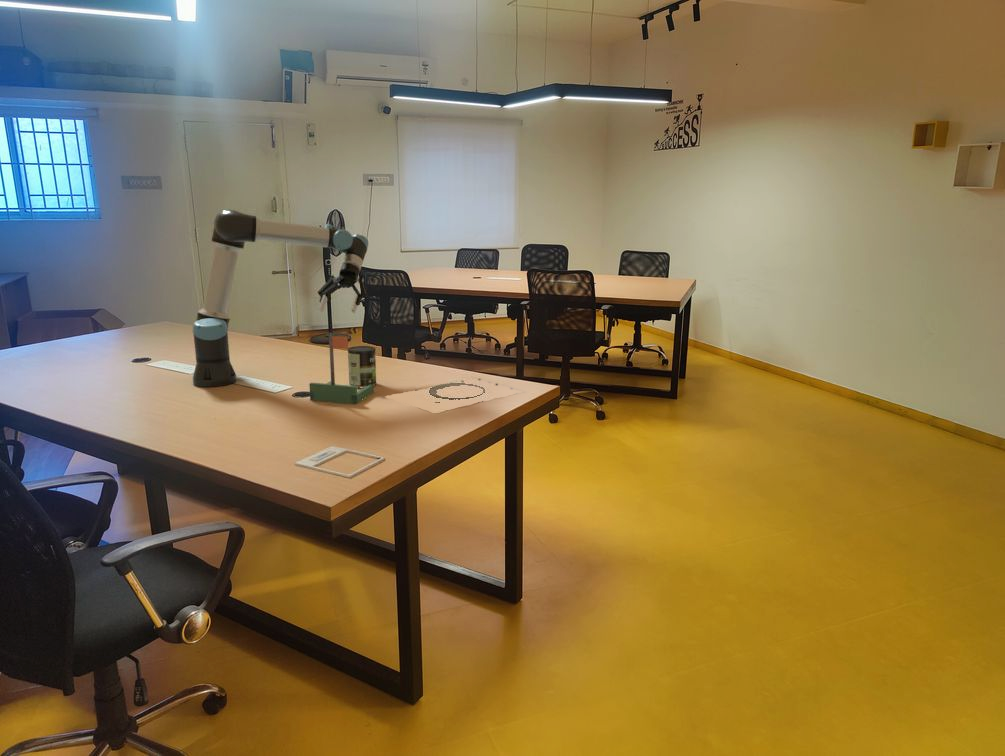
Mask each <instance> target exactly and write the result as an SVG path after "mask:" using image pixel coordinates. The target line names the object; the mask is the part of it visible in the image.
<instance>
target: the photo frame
mask: <svg viewBox="0 0 1005 756" xmlns="http://www.w3.org/2000/svg"><path fill="white" fill-rule="evenodd" d="M345 453H350V454H354V455H360V456H363V457H367V456H368V457H367V458H372V457H374V458H373V459H376V458H379V459H377V460H374V461H373V462H371V463H368V464H367V465H364V466H363V467H361V468H359V469H357V470H355V471H353V472H352V473H349V474H347V473H343V472H338V471H335V470H331V469H328V468H327V469H326V468H322V467H317V466H319V465H322V464H324V463H325V462H327V461H329V460H330V461H331V460H332V459H334V458H336V457H338V456H340V455H343V454H345ZM384 459H385V460H386V457H383V456H378V455H374V454H371V453H366V452H361V451H357V450H353V449H348V448H343V447H338V446H335V445H334V446H333V445H332V446H329V447H327V448H324V449H323V450H320V451H319V452H316V453H314V454H312V455H309V456H307V457H305V458H303V459H300V460H298V461H296V462H294V466H299V467H303V468H308V469H311V470H314V471H315V470H316V471H318V472H319V471H320V472H323V473H327V474H331V475H335V476H338V477H339V476H340V477H344V478H347V479H351V478H352V477H354V476H356V475H358V474H360V473H362V472H363V471H365V470H369V468H371V466H372V467H373V465H374V466H376V465H377V464H379V463H381V462H383V461H385V460H384ZM382 460H383V461H382ZM380 461H381V462H380ZM378 462H379V463H378Z"/></svg>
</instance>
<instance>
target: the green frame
mask: <svg viewBox="0 0 1005 756" xmlns="http://www.w3.org/2000/svg"><path fill="white" fill-rule="evenodd" d="M348 341H349V340H348V336H334V334H333V333H332V332H328V343H329V358H330V359H329V364H330V365H329V366H330V381H329V382H327V383H325V382H324V383H323V382H310V383H309V384H308V385H309V401H313V402H314V401H315V402H323V403H324V402H326V403H338V404H350V405H357V404H358V403H360V402H362V401H363V400H365V399H366V398H368V397H369V396H371V395H372V394H371V393H373V392H374V393H375V386H374V385H373V384H370V385H368V386H366V387H365V388H360V390H358V388H357V386H349V384H347V385H345V384H336V381H335V380H336V379H335V377H336V376H335V359H334V357H335V355H334V349H342V350H347V349H348V348H349V342H348ZM374 393H373V394H374ZM370 394H371V395H370ZM368 395H369V396H368ZM367 396H368V397H367ZM365 397H366V398H365ZM364 398H365V399H364ZM362 399H363V400H362ZM361 400H362V401H361ZM359 401H360V402H359ZM356 403H357V404H356Z"/></svg>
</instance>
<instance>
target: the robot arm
mask: <svg viewBox="0 0 1005 756" xmlns="http://www.w3.org/2000/svg"><path fill="white" fill-rule="evenodd" d="M258 241H265V242H275V243H284V244H292V245H293V244H294V245H301V246H302V245H303V246H310V247H320V248H327V249H335V250H338V251H340V252H342V253H344V255H345V256H344V258H343V261H342V264H341V267H340V270H339V274H338V276H335V275H330V277H329V279H328V280H327V281H326V283H324V284H323V286H321V288H319V290H318V291H317V294H318V296H319V297H320V298H319V306H318V310H320V312H321V313H324V311H325V307H326V305H327V302H328V298H329V296H330V295H332V294H333V293H334V292H336V291H337V290H340V289H342V288H343V289H344V288H345V289H350V288H352V290H353V291H354V292H355V294H356V295H354V298H353V302H352V304H351V307H350V310H351V312H352V313H353V314H356V311H357V308H358V306H359V305H360V304H361V302H362V300H363V299H367V298H368V296H367V291H366V288H365V279H364V278H363V276H362V275H360V272H361V268H362V266H363V263H364V260H365V257H366V254H367V252H368V247H369V240H368V239H367V237H366V236H365V235H360V234H359V233H355V234H353V235H352V233H351V232H349V231H348V230H346V229H343V228H342V229H341V228H338V227H336V226H335V225H332V224H331V223H326V224H325V225H324V226H316V225H309V224H308V225H307V224H301V223H291V222H285V221H277V220H270V219H269V220H268V219H261V218H259V217H258V215H252V214H251V215H250V214H247V213H243V212H240V211H237V210H235V209H224V210H222V211H220V212H219V213H217V214H216V215H215V218H214V221H213V230H212V236H211V244H212V245H213V246H214V247H213V248H214V249H213V254H212V260H211V265H210V269H209V275H208V281H207V285H206V291H205V297H204V302H203V307H202V308H201V309H199V310H198V311H197V316H196V321H194V322H193V324H192V333H193V340H194V342H193V343H194V351H195V352H194V353H195V361H196V362H195V369H194V372H193V376H192V383H193V386H197V387H203V388H211V387H221V386H222V387H223V386H228V385H231V384H234V383H235V381H236V382H237V373H236V372H235V370H234V367H233V365H232V363H231V357H230V344H229V334H228V332H229V325H230V319H231V316H230V315H229V314H228V307H229V303H230V299H231V292H232V288H233V282H234V277H235V272H236V266H237V261H238V256H239V252H241V251H243V250H244V248H245V247H244V246H245V242H249V243H257V242H258ZM357 283H358V284H359V287H360V291H361V293H360V291H359V289H358V288H357V287H356V285H355V284H357Z"/></svg>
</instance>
